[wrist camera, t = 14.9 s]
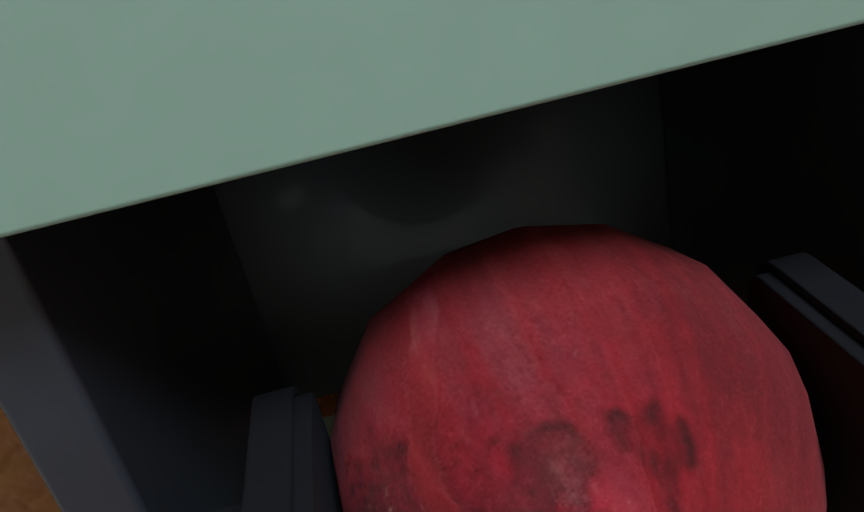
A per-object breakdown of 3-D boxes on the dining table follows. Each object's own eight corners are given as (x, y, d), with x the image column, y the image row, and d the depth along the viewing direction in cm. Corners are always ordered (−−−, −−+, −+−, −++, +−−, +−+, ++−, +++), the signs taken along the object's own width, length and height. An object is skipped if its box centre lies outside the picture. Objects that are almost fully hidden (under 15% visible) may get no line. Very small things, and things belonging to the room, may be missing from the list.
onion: (283, 411, 13) (260, 1021, 6) (393, 98, 11) (559, 459, 4) (575, 471, 15) (830, 1009, 8) (718, 208, 13) (1246, 605, 6)
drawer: (721, 471, 22) (993, 842, 14) (309, 585, 22) (314, 1052, 13) (690, -297, 14) (1354, -631, 5) (13, -146, 13) (-550, -229, 5)
